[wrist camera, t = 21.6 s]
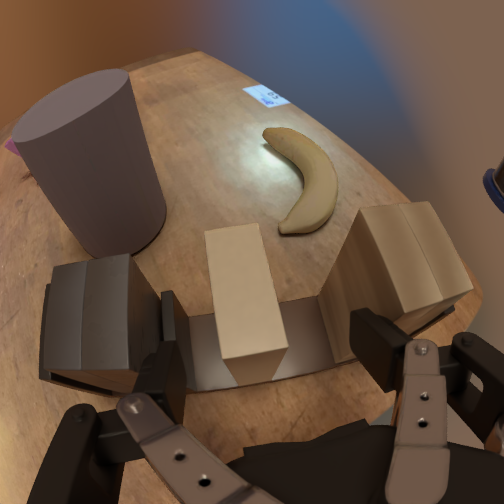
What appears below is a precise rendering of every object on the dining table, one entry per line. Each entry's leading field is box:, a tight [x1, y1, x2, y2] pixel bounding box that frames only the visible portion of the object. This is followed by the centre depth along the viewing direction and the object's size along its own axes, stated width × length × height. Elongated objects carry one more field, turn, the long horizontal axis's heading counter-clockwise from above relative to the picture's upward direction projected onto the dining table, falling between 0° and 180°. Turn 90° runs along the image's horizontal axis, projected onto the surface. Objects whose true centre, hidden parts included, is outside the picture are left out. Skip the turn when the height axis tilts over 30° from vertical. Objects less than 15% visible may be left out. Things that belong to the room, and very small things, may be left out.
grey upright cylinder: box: [11, 69, 166, 258], centre depth 22 cm, size 10×10×15 cm
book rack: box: [39, 201, 473, 397], centre depth 16 cm, size 24×6×12 cm, turn 100°
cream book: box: [204, 223, 289, 386], centre depth 16 cm, size 2×6×11 cm, turn 11°
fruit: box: [262, 127, 338, 234], centre depth 29 cm, size 7×15×3 cm, turn 5°
